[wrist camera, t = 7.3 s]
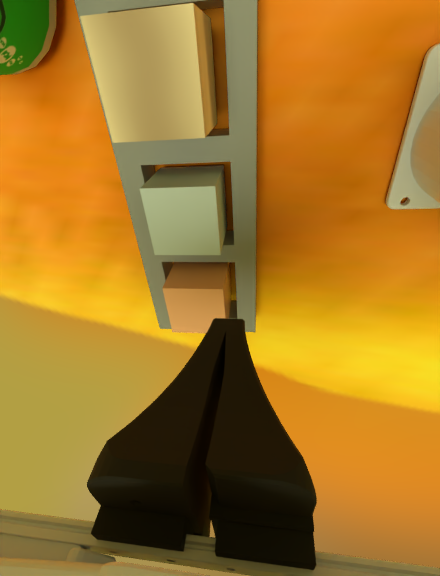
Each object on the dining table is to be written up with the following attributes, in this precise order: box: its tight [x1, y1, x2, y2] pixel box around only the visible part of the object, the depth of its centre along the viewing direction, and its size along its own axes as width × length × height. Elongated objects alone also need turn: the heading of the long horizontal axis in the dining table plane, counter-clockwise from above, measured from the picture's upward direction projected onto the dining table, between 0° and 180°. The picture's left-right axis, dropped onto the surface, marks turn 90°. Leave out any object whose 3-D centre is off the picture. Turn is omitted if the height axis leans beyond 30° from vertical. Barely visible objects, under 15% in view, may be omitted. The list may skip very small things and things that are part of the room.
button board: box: [74, 0, 258, 332], centre depth 19 cm, size 8×21×2 cm, turn 4°
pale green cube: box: [140, 165, 227, 255], centre depth 18 cm, size 4×4×4 cm
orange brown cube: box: [162, 262, 231, 333], centre depth 22 cm, size 4×4×4 cm
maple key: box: [80, 3, 217, 143], centre depth 13 cm, size 4×4×4 cm
